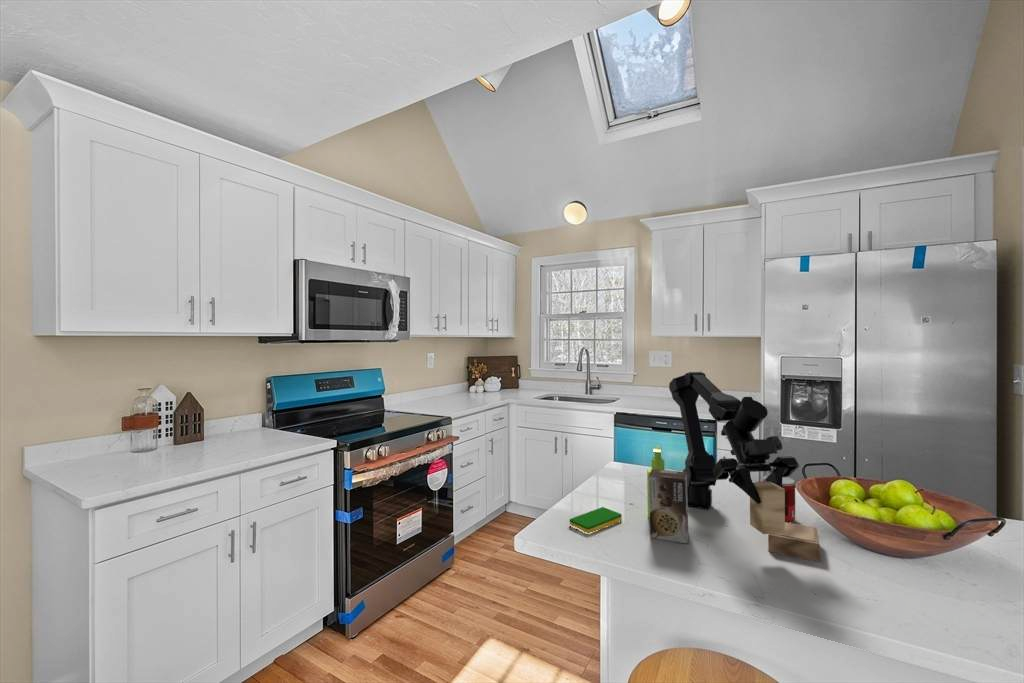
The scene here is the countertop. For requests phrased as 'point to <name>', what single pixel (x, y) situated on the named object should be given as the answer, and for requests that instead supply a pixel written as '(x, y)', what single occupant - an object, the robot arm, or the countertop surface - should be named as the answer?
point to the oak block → (768, 509)
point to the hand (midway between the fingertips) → (770, 502)
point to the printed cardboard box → (668, 505)
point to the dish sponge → (596, 519)
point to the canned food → (788, 498)
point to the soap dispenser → (655, 467)
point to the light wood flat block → (796, 542)
